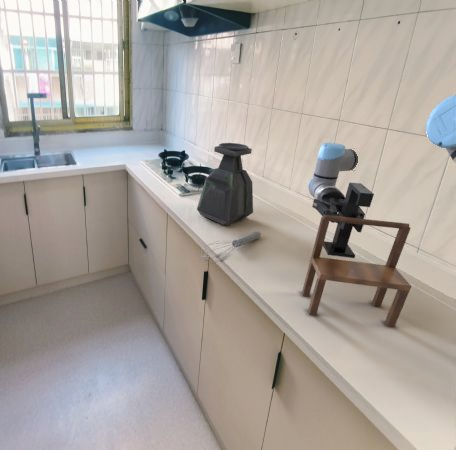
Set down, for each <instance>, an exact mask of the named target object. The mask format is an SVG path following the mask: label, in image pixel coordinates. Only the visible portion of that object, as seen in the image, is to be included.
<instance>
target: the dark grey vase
mask: <svg viewBox="0 0 456 450" xmlns="http://www.w3.org/2000/svg"><path fill="white" fill-rule="evenodd" d="M213 149H214V150H213V152H215V153H218V154H221V155H223V156H222V157H221V160H220V162H219V165H218V167H216V168H214V169H213V170H212V171H211V172H210V173H209V174H208V175H207V177H206V178H205V180H204V184H203V186H202V190H201V194H200V196H199V201H198V203H197V207H196V210H197V211H198V213H199V215H200V216H202V217H204V218H207V219H209V220H212V221H214V222H216V223H218V224H221V225H224V226H228V225H229V226H230V225H231V224H235V223H237V222H239V221H240V222H241V221H242V220H244V219H246V218H247V217H249V216H250V215H252V214H253V213H254V194H253V180H252V178H251V177H250V174H249V173H248V171H247V170H245V169H244V168H243V162H242V156H247V155H251V154H252V151H253V148H250V147H249V146H248V145H246V144H243V143H237V142H236V143H235V142H222V143H219V144H218V146H214V148H213Z"/></svg>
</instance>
